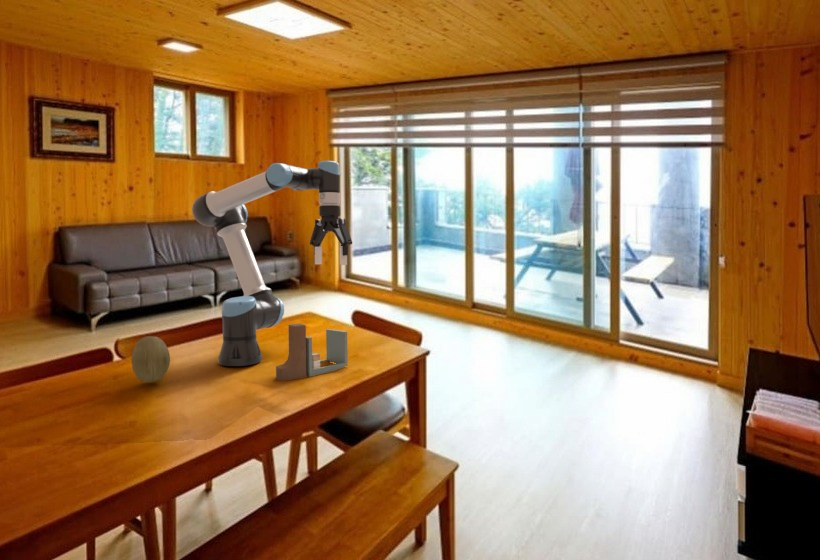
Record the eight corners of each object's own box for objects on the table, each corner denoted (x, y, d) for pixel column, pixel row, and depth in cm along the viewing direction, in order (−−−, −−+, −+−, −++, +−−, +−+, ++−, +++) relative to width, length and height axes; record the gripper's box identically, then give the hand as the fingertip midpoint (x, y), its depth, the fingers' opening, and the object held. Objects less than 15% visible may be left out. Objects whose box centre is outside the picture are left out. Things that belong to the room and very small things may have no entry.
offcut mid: (299, 366, 190) (299, 359, 190) (305, 364, 192) (305, 357, 192) (314, 368, 186) (313, 361, 186) (320, 366, 189) (320, 360, 189)
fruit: (178, 378, 182) (176, 333, 181) (152, 387, 171) (150, 339, 170) (150, 376, 186) (149, 332, 185) (123, 384, 175) (121, 337, 174)
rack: (291, 372, 190) (290, 335, 189) (329, 364, 203) (328, 329, 202) (309, 376, 183) (308, 338, 183) (347, 367, 196) (347, 331, 196)
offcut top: (300, 359, 190) (300, 353, 190) (306, 357, 192) (306, 351, 192) (313, 361, 186) (313, 355, 186) (319, 359, 189) (319, 353, 189)
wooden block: (280, 382, 178) (280, 327, 176) (275, 379, 182) (275, 325, 180) (306, 378, 183) (306, 325, 182) (301, 375, 187) (300, 323, 185)
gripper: (299, 206, 202) (300, 264, 203) (345, 202, 186) (346, 265, 187) (315, 207, 208) (316, 263, 209) (361, 203, 191) (362, 264, 193)
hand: (330, 264), depth 198 cm, fingers open, 13 cm apart
